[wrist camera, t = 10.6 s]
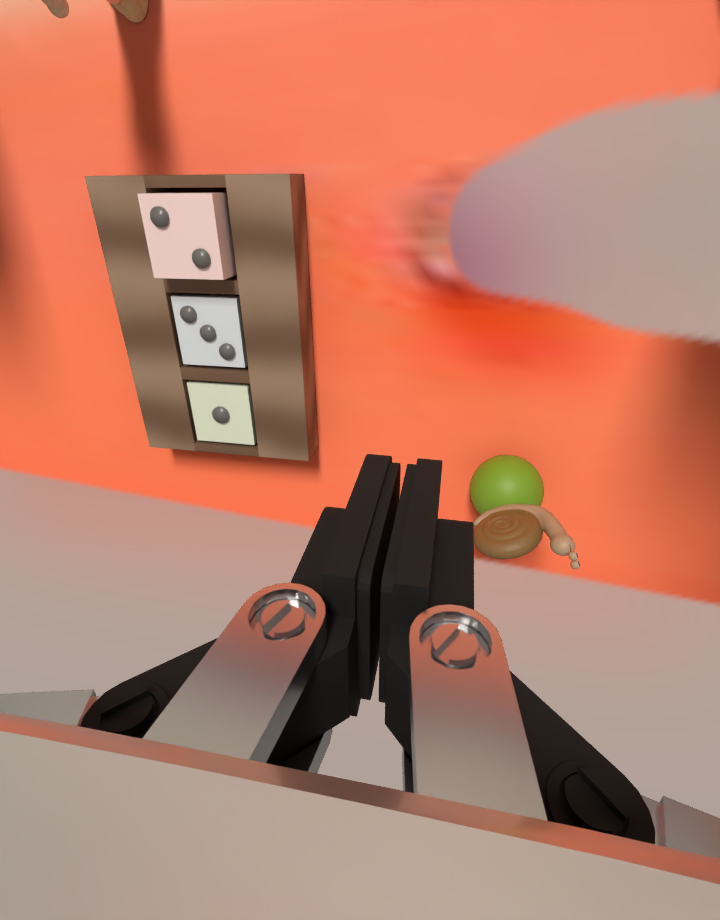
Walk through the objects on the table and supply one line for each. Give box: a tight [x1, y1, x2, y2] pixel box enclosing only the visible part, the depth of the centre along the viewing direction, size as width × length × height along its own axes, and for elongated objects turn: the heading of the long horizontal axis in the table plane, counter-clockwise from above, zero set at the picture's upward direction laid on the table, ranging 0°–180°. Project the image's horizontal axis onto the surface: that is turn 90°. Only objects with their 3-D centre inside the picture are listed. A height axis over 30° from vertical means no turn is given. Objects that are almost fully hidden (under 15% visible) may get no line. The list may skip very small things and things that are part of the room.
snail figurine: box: [470, 455, 580, 569], centre depth 35 cm, size 5×6×12 cm
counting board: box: [85, 174, 318, 461], centre depth 38 cm, size 20×14×3 cm
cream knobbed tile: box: [187, 380, 257, 445], centre depth 40 cm, size 5×5×3 cm
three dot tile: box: [171, 293, 248, 368], centre depth 37 cm, size 5×5×3 cm
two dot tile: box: [137, 192, 237, 280], centre depth 33 cm, size 5×5×3 cm
